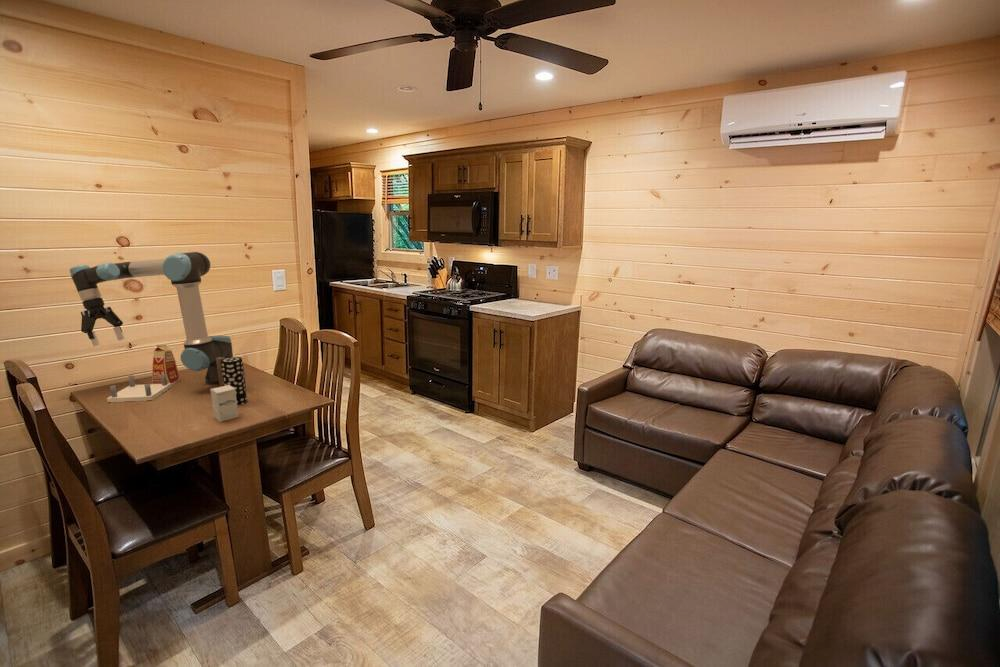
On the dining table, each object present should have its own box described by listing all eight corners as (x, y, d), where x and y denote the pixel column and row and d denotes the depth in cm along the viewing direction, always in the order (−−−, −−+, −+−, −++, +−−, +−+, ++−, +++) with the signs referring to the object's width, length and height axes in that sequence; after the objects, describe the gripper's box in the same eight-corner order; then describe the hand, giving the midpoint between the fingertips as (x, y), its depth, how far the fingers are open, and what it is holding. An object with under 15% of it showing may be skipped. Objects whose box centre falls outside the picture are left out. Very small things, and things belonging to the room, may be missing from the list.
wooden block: (246, 391, 232) (242, 355, 228) (221, 396, 224) (216, 359, 220) (244, 389, 234) (239, 353, 230) (219, 394, 227) (214, 357, 223)
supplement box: (219, 422, 197) (215, 393, 194) (213, 417, 202) (209, 388, 199) (239, 417, 202) (235, 388, 199) (232, 412, 207) (229, 384, 204)
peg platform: (171, 387, 236) (169, 373, 235) (152, 400, 219) (149, 386, 217) (131, 388, 234) (128, 374, 232) (107, 402, 216) (104, 387, 215)
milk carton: (169, 385, 239) (163, 346, 234) (151, 385, 239) (144, 346, 234) (182, 379, 247) (176, 341, 243) (164, 379, 248) (157, 341, 243)
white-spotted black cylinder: (238, 398, 223) (233, 356, 219) (251, 401, 220) (246, 358, 215) (221, 404, 216) (216, 360, 211) (234, 407, 212) (228, 363, 208)
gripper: (107, 298, 238) (124, 339, 242) (59, 304, 214) (78, 350, 217) (121, 294, 237) (137, 335, 241) (74, 300, 213) (93, 346, 216)
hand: (109, 342), depth 229 cm, fingers open, 13 cm apart
